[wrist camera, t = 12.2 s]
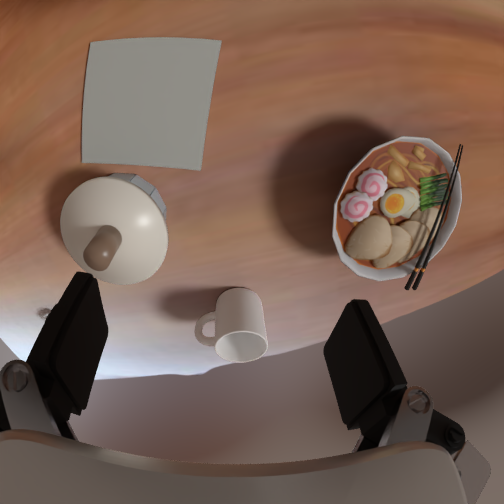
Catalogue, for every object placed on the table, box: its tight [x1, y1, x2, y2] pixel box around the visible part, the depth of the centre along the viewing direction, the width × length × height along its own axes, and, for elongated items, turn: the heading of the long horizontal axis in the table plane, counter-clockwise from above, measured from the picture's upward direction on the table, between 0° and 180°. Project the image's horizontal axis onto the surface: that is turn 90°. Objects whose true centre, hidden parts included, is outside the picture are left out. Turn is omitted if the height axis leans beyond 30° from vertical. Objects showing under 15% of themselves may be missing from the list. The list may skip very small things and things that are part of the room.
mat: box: [82, 37, 222, 171], centre depth 31 cm, size 18×18×1 cm
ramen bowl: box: [332, 136, 463, 290], centre depth 37 cm, size 25×23×8 cm
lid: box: [60, 177, 169, 285], centre depth 32 cm, size 16×16×6 cm
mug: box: [195, 288, 268, 363], centre depth 46 cm, size 12×8×10 cm
